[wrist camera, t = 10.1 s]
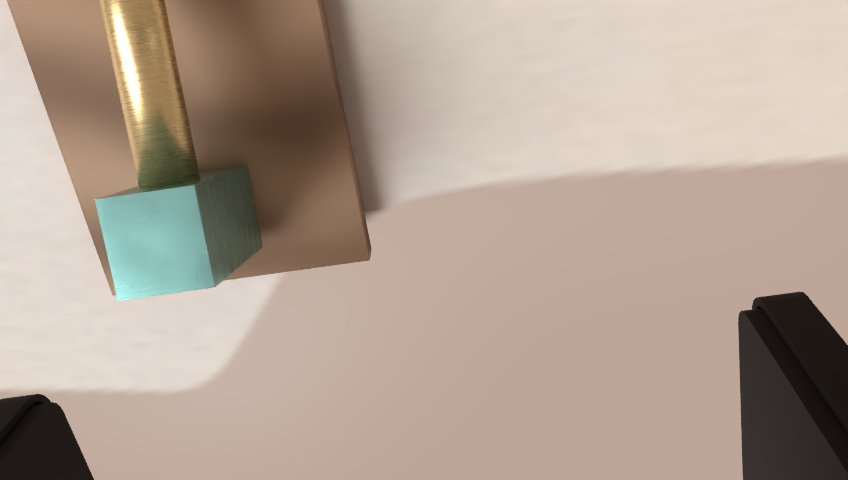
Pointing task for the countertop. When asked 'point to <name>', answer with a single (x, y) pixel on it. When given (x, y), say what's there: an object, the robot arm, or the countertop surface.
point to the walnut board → (215, 117)
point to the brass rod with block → (167, 173)
